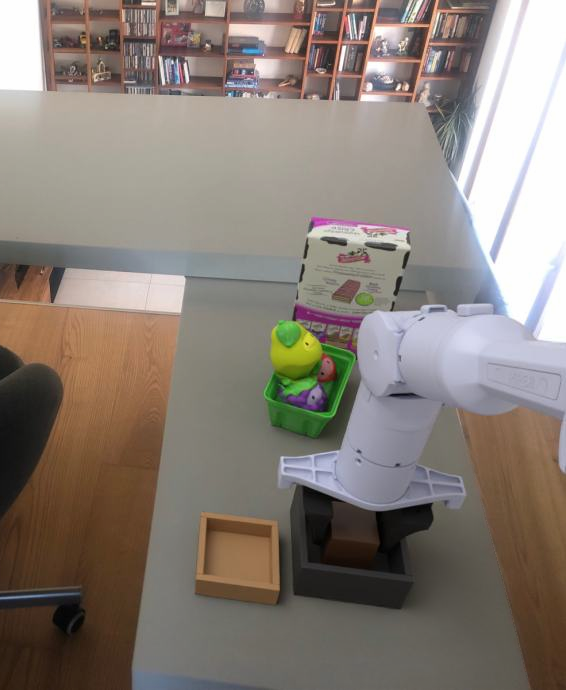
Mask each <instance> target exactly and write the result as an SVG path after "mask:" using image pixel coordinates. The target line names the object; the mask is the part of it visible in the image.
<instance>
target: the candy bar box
mask: <svg viewBox="0 0 566 690" xmlns="http://www.w3.org/2000/svg"><path fill="white" fill-rule="evenodd" d="M410 234H411V228H410V227H404V226H403V227H402V226H393V225H388V224H387V225H385V224H378V223H369V222H363V221H362V222H361V221H353V220H343V219H335V218H326V217H319V216H310V219H309V224H308V228H307V232H306V237H305V242H304V249H303V254H302V259H301V266H300V271H299V277H298V282H297V288H296V293H295V299H294V302H293V303H294V304H293V309H292V315H291V320H290V321H294V322H297V323H299V324H300V325H301V326H302V327H303V328H304V329H306V330H307V331H309V332H310V333H311V334H313V335H314V336H315V337H316V338H317V339H318V341H319V342H320V343H323V344H326V345H330V346H333V347H337V348H341V349H344V350H348V351H350V352H352V353H354V354H355V356H356V359H358V358H357V340H358V333H359V329H360V325H361V323H362V321H363V319H364V318H365V317H366V316H367V315H368V314H372V313H373V312H374V311H383V312H394V308H395V304H396V301H397V298H398V295H399V292H400V289H401V285H402V282H403V279H404V274H405V270H406V268H407V266H408V265H407V264H408V261H409V259H410V255H411V254H410V253H411V250H412V248H411V247H412V246H411V240H410V239H411V237H410Z"/></svg>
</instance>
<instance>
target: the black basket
mask: <svg viewBox="0 0 566 690" xmlns="http://www.w3.org/2000/svg"><path fill="white" fill-rule="evenodd" d="M332 501H336V502H344V503H348V502H345V501H343V500H340V499H337V498H335V497H333V500H332ZM382 513H383V511H375V514H376V521H377V524H378V522H379V520H380V517H381V515H382ZM289 518H290V519H289V521H290V544H291V545H290V546H291V568H292V569H291V570H292V571H291V573H292V594H293V596H300V597H308V598H314V599H315V598H316V599H322V600H323V599H324V600H330V601H337V602H344V603H352V604H357V605H358V604H359V605H365V606H374V607H381V608H388V609H394V610H401V609H402V607H403V606H404V603H405V601H406V599H407V598H408V595H409V593H410V591H411V589H412V587H413V585H414V584H415V579H414V574H413V569H412V563H411V559H410V553H409V547H408V542H407V537H405V538H403V539H402V540H400V541H399V542H398V543H396V544H395V545H394V546H393V547H392V548H391V549H389V550H388V551H387V552H386V553H378V550H377V552H376V555H375V557H374V560H373V562H372V564H371V567H370V569H369V570H362V569H355V568H347V567H339V566H332V565H324V564H321V551H320V545H315V544H313V543H312V529H311V526H312V524H311V522H310V520H309V518H308V516H307V515H306V514H305V510H304V506H303V493H302V485H297V484H295V489H294V493H293V497H292V501H291V505H290V509H289Z"/></svg>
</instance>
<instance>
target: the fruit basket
mask: <svg viewBox="0 0 566 690" xmlns="http://www.w3.org/2000/svg"><path fill="white" fill-rule="evenodd" d="M270 341H271V345H270V351H269V355H270V356H269V357H270V362H271V365H272V367H273V369H274V370H273V372H272V374H271V376H270V379H269V380H268V383H267V384H266V387H265V389H264V391H263V397H264V400H265V403H266V405H267V409H268V414H269V419H270V424H271V425H273V426H277V427H281V428H283V429H285V430H287V431H290V432H293V433H297V434H300V435H307V436H308V437H309V438H312V439H317V438H318V437H319V435H320V434H321V433H322V431H323V430H324V428H325V427H326V425H327V424H328V422H329V421H331V420H332V419H334V417H335V416H336V413H337V411H338V407H339V404H340V402H341V399H342V396H343V394H344V391H345V388H346V385H347V383H348V381H349V378H350V375H351V372H352V369H353V367H354V365H355V362H356V359H357V358H356V356H355V354H354V353H352V352H350V351H348V350H344V349H341V348H337V347H333V346H330V345H326V344H323V343H320V342H319V341H318V339H317V338H316V337H315V336H314V335H313V334H311V333H310V332H309V331H307V330H306V329H304V328H303V327H302V326H301V325H300V324H299V323H297V322H294V321H291V320H286V321H285V320H284V319H278V321H277V325H275V326H274V328H273V329H272V331H271V333H270Z"/></svg>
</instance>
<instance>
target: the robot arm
mask: <svg viewBox="0 0 566 690" xmlns="http://www.w3.org/2000/svg"><path fill="white" fill-rule="evenodd" d="M494 312H495V309H494V305H493V304H492V303H461V304H458V305H457V306H456V311H454V310H452V309H448V307H447V305H446V304H423V305H422V306H421V307H420V310H398V311H396V310H395V311H393V312H383V311H374V312H373V313H372V314H368V315H367V316H366V317H365V318H364V319H363V321H362V323H361V325H360V329H359V333H358V340H357V358H356V359H357V365H358V370H359V374H360V377H361V379H360V382H359V385H358V389H357V393H356V396H355V399H354V402H353V406H352V409H351V412H350V415H349V418H348V422H347V426H346V429H345V433H344V436H343V439H342V442H341V445H340V449H338V450H333V451H332V450H331V451H327V452H326V451H325V452H320V453H313V454H307V455H301V456H300V455H299V456H280V458H279V463H278V467H277V488H278V489H281V490H291V489H292V486H293V485H302V493H303V506H304V510H305V514H306V515H307V516H308V518H309V520H310V522H311V524H312V526H311V529H312V543H313V544H315V545H321V544H322V542H323V538H324V534H325V530H326V527H327V525H328V524H329V522H330V521H331V519H332V518H334V513H333V503H332V500H333V497H335V498H337V499H340V500H343V501H345V502H348V503H350V504H353V505H355V506H358V507H360V508H363V509H367V510H372V511H383V513H382V515H381V517H380V520H379V522H378V524H377V527H378V534H379V540H380V545H379V547H378V553H386V552H387V551H388V550H389V549H391V548H392V547H393V546H394V545H395V544H396V543H398V542H399V541H400V540H402V539H403V538H405V537H406V538H407V537H409V536H411V535H414V534H415V533H419V532H423V531H428V530H429V529H430V528H431V527H432V525H433V522H434V521H435V518H434V517H435V516H434V512H433V508H432V507H433V505H434V503H436V502H444V506H445V508H446V509H451V510H461V507H462V505H463V504H464V501H465V499H466V498H467V496H468V495H467V491H466V488H465V483H464V481H463V477H462V476H460V475H455V474H450V473H445V472H443V471H442V472H441V471H438V470H436V469H433V468H430V467H427V466H424V465H421V464H420V463H419V462H420V459H421V457H422V454H423V453H424V449H425V447H426V444H427V443H428V440H429V438H430V435H431V432H432V430H433V428H434V425H435V423H436V420H437V418H438V416H439V414H440V411H441V410H445V409H446V408H451V407H454V408H457V409H460V410H462V411H466V412H469V413H472V414H475V415H481V416H498V415H503V414H506V413H509V412H512V411H513V410H515V409H517V408H519V407H521V408H522V407H523V408H526V409H529V410H531V411H534V412H536V413H540V414H541V415H545V416H548V417H551V418H554V419H556V420H559V421H562V422H561V426H560V431H559V440H558V467H559V469H560V470H561V472H562V473H563V475H566V342H559V341H558V342H557V341H539V340H537V339H536V337H535V336H534V334H533V333H532V331H530V329H529V328H528V327H526V326H525V325H524V324H523V323H521V322H520V321H518V320H516V319H514V318H512V317H510V316H506V315H502V314H495V313H494Z"/></svg>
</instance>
